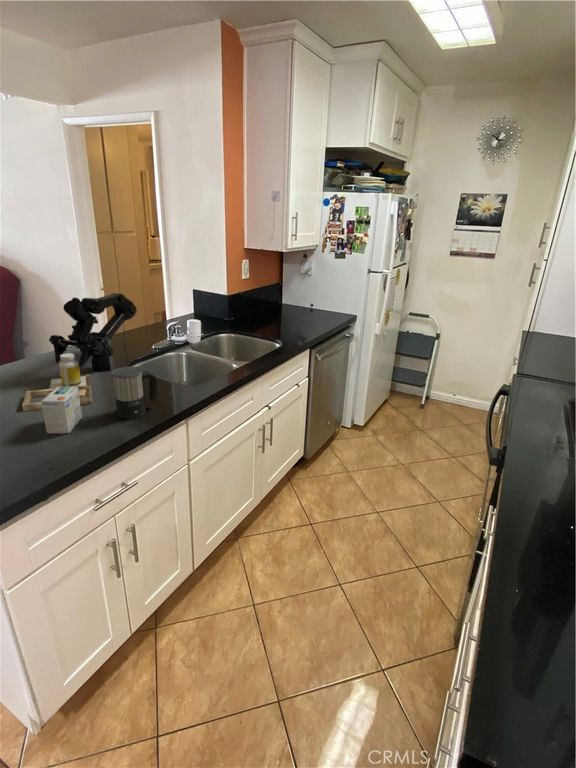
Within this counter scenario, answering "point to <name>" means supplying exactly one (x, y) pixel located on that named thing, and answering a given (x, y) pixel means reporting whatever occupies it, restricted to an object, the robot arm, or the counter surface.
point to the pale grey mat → (58, 382)
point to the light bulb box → (61, 409)
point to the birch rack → (46, 392)
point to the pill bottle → (69, 370)
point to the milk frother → (132, 391)
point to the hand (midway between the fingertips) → (68, 364)
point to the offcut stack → (82, 393)
